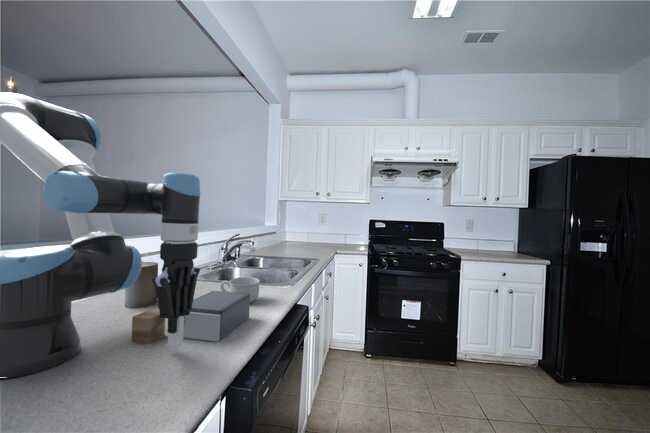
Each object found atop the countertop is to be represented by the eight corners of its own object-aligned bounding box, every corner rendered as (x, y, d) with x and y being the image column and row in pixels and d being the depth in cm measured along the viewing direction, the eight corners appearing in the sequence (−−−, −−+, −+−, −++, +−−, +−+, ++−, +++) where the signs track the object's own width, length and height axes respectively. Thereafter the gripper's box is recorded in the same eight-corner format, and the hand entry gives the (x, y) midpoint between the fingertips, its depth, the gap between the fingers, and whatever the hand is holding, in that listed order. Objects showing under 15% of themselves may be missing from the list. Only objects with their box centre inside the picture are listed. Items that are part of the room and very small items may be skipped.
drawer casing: (221, 340, 70) (222, 310, 70) (177, 335, 72) (178, 306, 72) (249, 318, 86) (249, 293, 86) (212, 314, 88) (213, 290, 88)
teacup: (263, 298, 107) (263, 277, 107) (253, 307, 96) (253, 284, 96) (228, 296, 108) (228, 275, 108) (214, 305, 98) (215, 282, 98)
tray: (217, 341, 69) (218, 315, 69) (176, 336, 71) (176, 311, 71) (241, 322, 82) (241, 301, 82) (205, 319, 84) (205, 297, 84)
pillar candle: (162, 299, 102) (163, 258, 102) (149, 307, 92) (150, 262, 92) (133, 299, 100) (134, 258, 101) (117, 308, 91) (118, 262, 91)
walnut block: (149, 343, 68) (150, 318, 68) (131, 341, 68) (132, 316, 68) (164, 334, 72) (165, 311, 72) (147, 332, 73) (148, 310, 73)
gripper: (174, 245, 56) (169, 361, 56) (211, 240, 69) (207, 335, 69) (142, 243, 58) (137, 356, 58) (184, 238, 70) (180, 331, 71)
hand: (175, 344), depth 63 cm, fingers closed
